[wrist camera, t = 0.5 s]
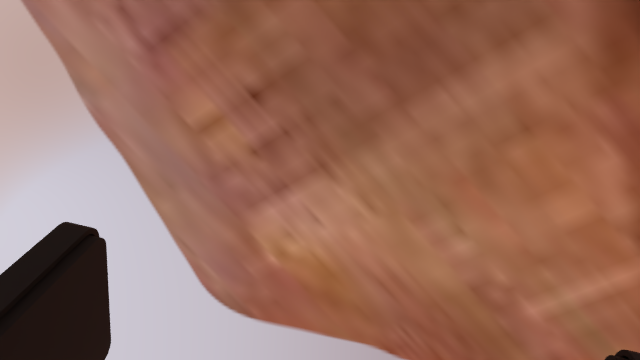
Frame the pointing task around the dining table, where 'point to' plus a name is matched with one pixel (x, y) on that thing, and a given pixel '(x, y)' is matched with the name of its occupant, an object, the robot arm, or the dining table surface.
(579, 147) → the dining table surface
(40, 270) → the robot arm
